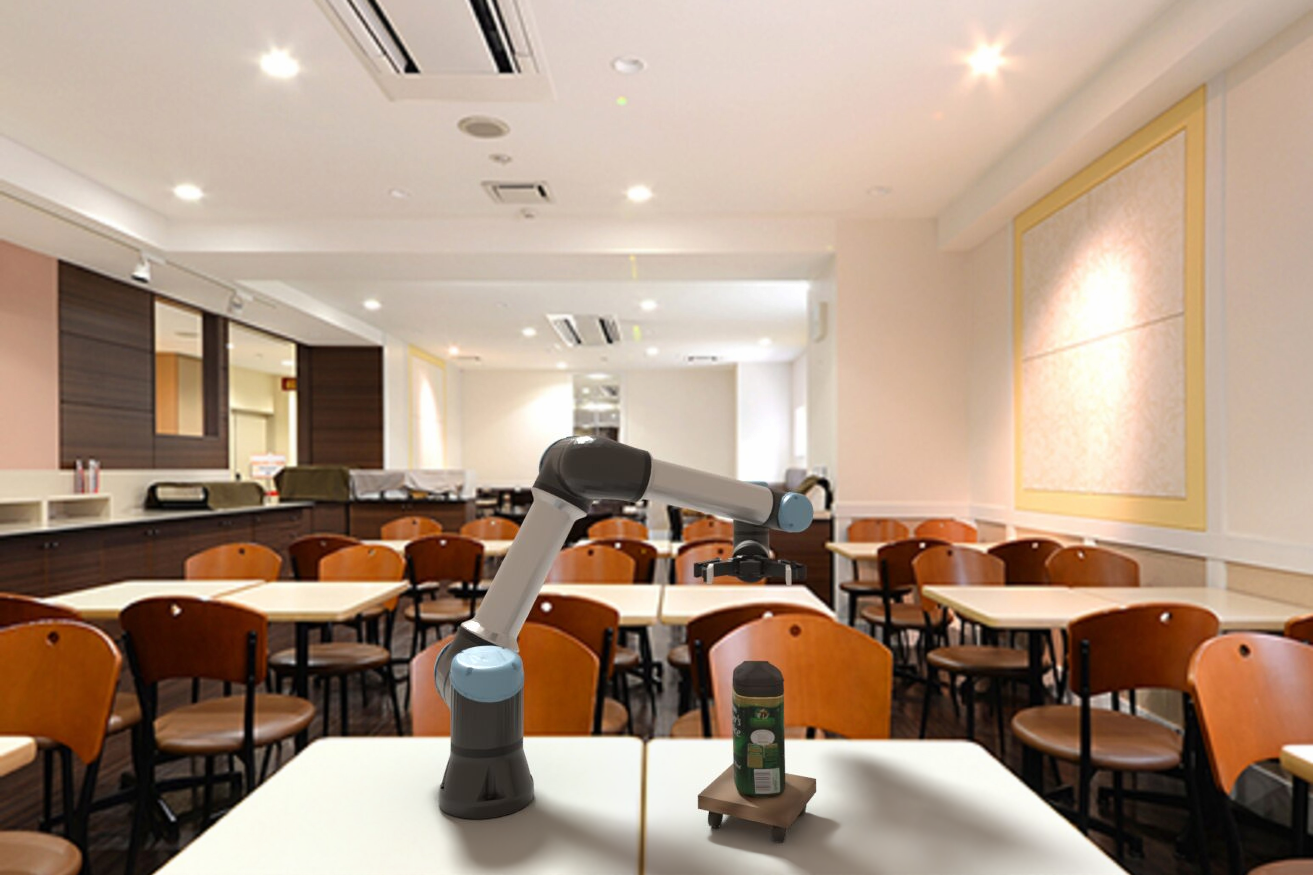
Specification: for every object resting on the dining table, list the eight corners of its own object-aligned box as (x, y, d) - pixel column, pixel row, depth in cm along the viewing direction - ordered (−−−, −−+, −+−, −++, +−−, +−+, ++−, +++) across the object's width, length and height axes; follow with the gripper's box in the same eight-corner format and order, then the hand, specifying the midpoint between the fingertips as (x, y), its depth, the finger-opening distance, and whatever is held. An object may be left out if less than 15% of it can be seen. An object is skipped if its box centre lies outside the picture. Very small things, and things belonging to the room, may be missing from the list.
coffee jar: (731, 773, 126) (730, 656, 127) (781, 774, 126) (780, 656, 127) (734, 799, 117) (733, 672, 117) (788, 800, 116) (787, 672, 117)
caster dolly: (697, 828, 118) (697, 794, 118) (733, 793, 131) (733, 763, 131) (788, 849, 112) (788, 813, 112) (816, 810, 124) (816, 778, 124)
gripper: (814, 581, 155) (823, 600, 134) (687, 579, 158) (676, 597, 137) (814, 543, 155) (822, 556, 134) (687, 541, 158) (676, 554, 137)
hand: (748, 577), depth 135 cm, fingers open, 13 cm apart
